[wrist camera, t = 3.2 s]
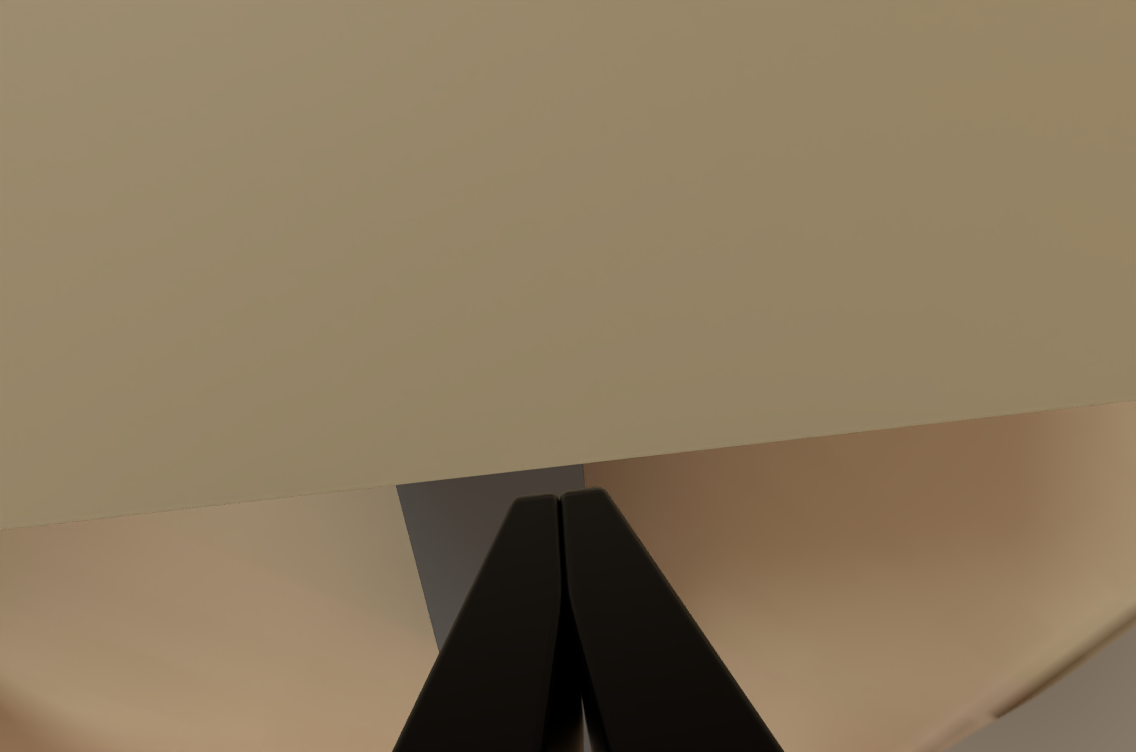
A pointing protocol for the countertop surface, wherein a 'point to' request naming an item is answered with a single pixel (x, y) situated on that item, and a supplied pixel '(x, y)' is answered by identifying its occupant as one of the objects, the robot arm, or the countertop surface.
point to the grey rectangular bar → (467, 531)
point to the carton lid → (541, 234)
